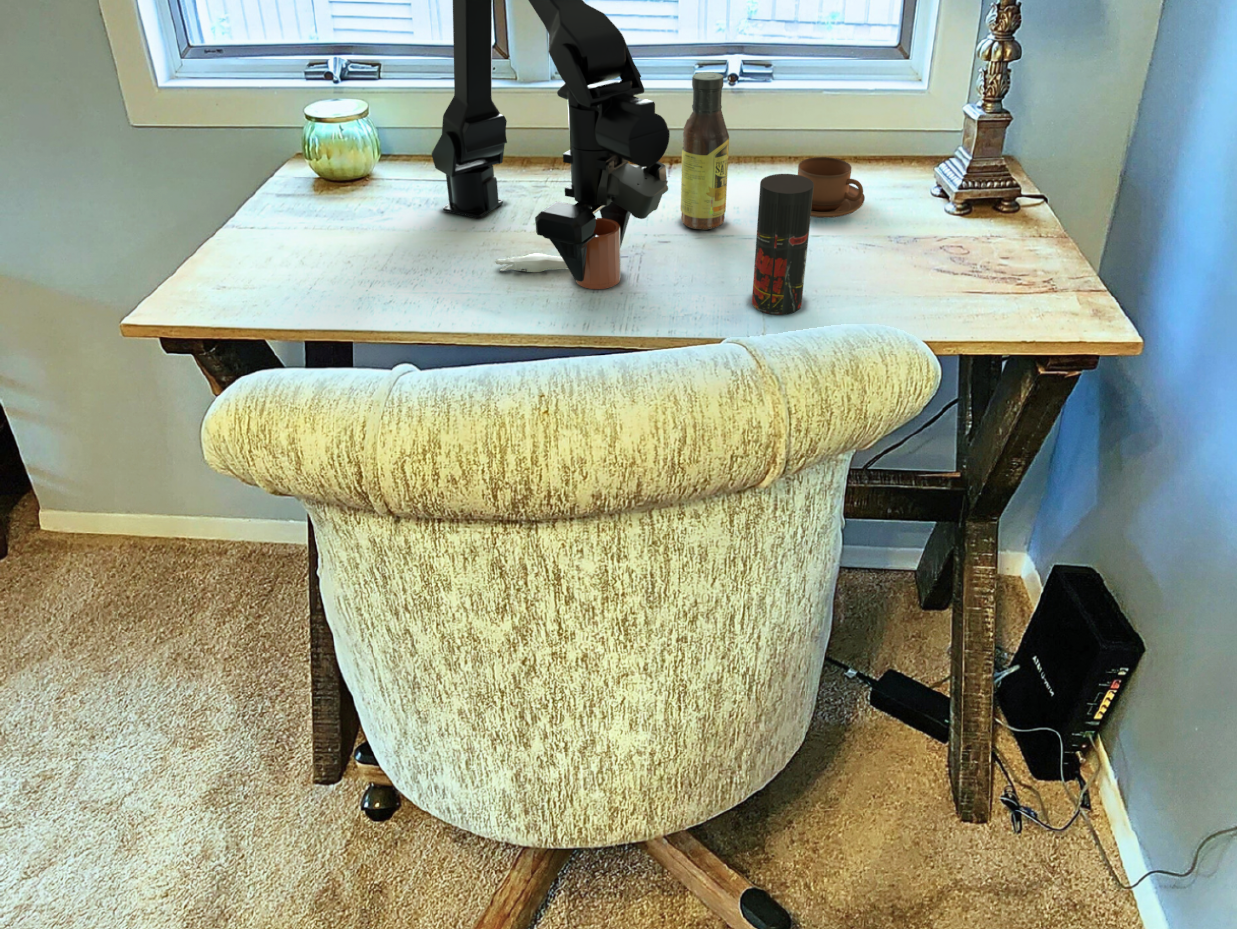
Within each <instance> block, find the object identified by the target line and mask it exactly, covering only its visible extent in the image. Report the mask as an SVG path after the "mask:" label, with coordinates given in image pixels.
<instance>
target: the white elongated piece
mask: <svg viewBox="0 0 1237 929" xmlns="http://www.w3.org/2000/svg"><path fill="white" fill-rule="evenodd" d="M494 262H495V265H500V266H502V267H501V268H500V269H499V272H504V271H509V270H512V271H513V270H514V271H519V272H520V271H521V272H526V273H540V272H544V271H546V270H565V269H566V270H567V269H568V267H567V265H566V264H565V262H564V260H563V258H562V257H561V255H560V256H559V255H557V256H556V255H549V254H546V253H541V252H536V253H529V254H526V255H523V256H514V257H513V256H511V257H509V256H508V258H503V259H502V258H496V259H495V260H494Z"/></svg>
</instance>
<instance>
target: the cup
mask: <svg viewBox="0 0 1237 929" xmlns="http://www.w3.org/2000/svg"><path fill="white" fill-rule="evenodd" d="M593 233H596V234H597V235H596V236H595V237H594V238H593V239H592V240H591V241H590V242H588V244H587V253H586V267H585V276H584V280H583V281H582V282H581V281H576V280H575V283H576V284H577V285H578V286H580V287H582V288H584V289H589V290H606V289H609V288H612V287H615V286H617V285H618V284H619V283H620V282H621V274H622V271H621V270H622V266H621V264H622V263H621V248H620V225H619V224H618V223H617V222H615V221H613V220H611V219H606V218H602V217H596V227H595V229H594V232H593Z"/></svg>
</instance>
